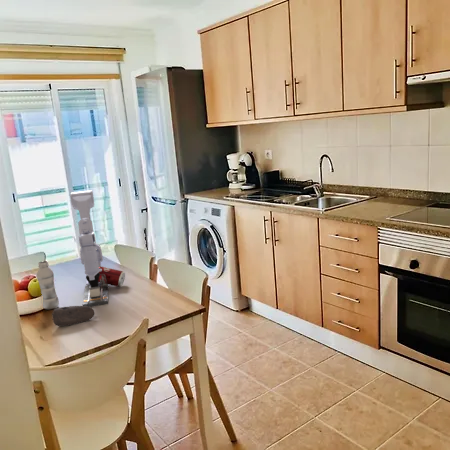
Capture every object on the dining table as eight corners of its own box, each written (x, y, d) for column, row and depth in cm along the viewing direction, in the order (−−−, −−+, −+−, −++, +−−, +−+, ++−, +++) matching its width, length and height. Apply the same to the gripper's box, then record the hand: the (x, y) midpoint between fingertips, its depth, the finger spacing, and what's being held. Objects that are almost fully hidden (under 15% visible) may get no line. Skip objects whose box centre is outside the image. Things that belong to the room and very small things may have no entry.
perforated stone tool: (95, 316, 171) (93, 300, 169) (95, 322, 166) (93, 305, 164) (55, 324, 167) (52, 307, 166) (53, 329, 162) (50, 312, 161)
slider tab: (90, 294, 189) (89, 287, 188) (100, 293, 190) (99, 285, 189) (90, 297, 186) (89, 289, 186) (100, 295, 187) (99, 287, 187)
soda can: (126, 274, 205) (102, 269, 206) (123, 269, 199) (98, 263, 200) (121, 289, 202) (96, 283, 203) (118, 284, 196) (92, 278, 197)
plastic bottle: (54, 311, 179) (45, 264, 175) (39, 311, 181) (30, 264, 176) (62, 304, 186) (54, 259, 181) (48, 304, 187) (40, 259, 182)
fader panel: (85, 289, 202) (85, 284, 202) (108, 285, 204) (107, 280, 204) (82, 308, 180) (82, 302, 180) (108, 303, 183) (107, 298, 182)
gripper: (99, 264, 182) (104, 294, 185) (100, 254, 195) (104, 283, 198) (82, 266, 180) (87, 297, 183) (84, 257, 194) (88, 286, 197)
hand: (95, 290), depth 191 cm, fingers closed
